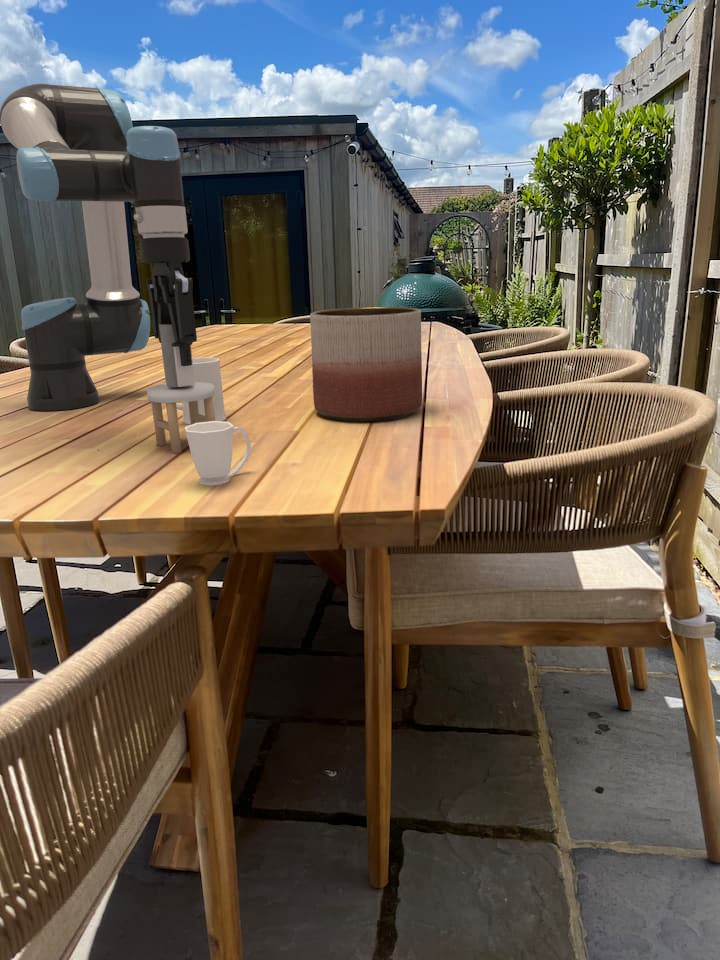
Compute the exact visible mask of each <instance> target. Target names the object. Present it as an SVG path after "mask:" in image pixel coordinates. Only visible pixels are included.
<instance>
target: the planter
mask: <svg viewBox="0 0 720 960" xmlns="http://www.w3.org/2000/svg"><path fill="white" fill-rule="evenodd" d="M309 318H310V321H309V322H310V340H311V342H310V343H311V344H310V345H311V368H312V369H311V371H312V391H313V392H312V393H313V394H312V395H313V406H314V409H315V411H316V412H317V413H319V414H320V415H322V416H324V417H326V418H329V419H333V420H338V421H346V422H380V421H381V422H382V421H388V420H395V419H401V418H404V417H407V416H409V415H412V414H414V413H415V412H417V411H418V410H419V409H420V408H421V407H422V405H423V369H422V368H423V367H422V361H423V360H422V311H421V309H418V308H415V307H403V306H402V307H400V306H399V307H398V306H376V307H375V306H371V307H367V306H365V307H347V308H346V307H345V308H332V309H324V310H322V309H321V310H318V311H313V312H311V313H310V315H309Z"/></svg>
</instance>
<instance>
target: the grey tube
mask: <svg viewBox="0 0 720 960" xmlns="http://www.w3.org/2000/svg"><path fill="white" fill-rule="evenodd" d="M159 329H160V337H161V343H160V346H161V345H162V348H161V353H162V354H163V356H162V362H164V365H163V371H164V370H165V373H164V379H165V378H166V385H167V386H168V387H179V386H178V383H177V374H176V365H175V357H174V348H173V347H172V345H171V344H172V343H174V342H175V338H174V333H173V328H172V323H171V322H165V323H160V324H159ZM189 386H191V385H189ZM182 387H186V386H182Z"/></svg>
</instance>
